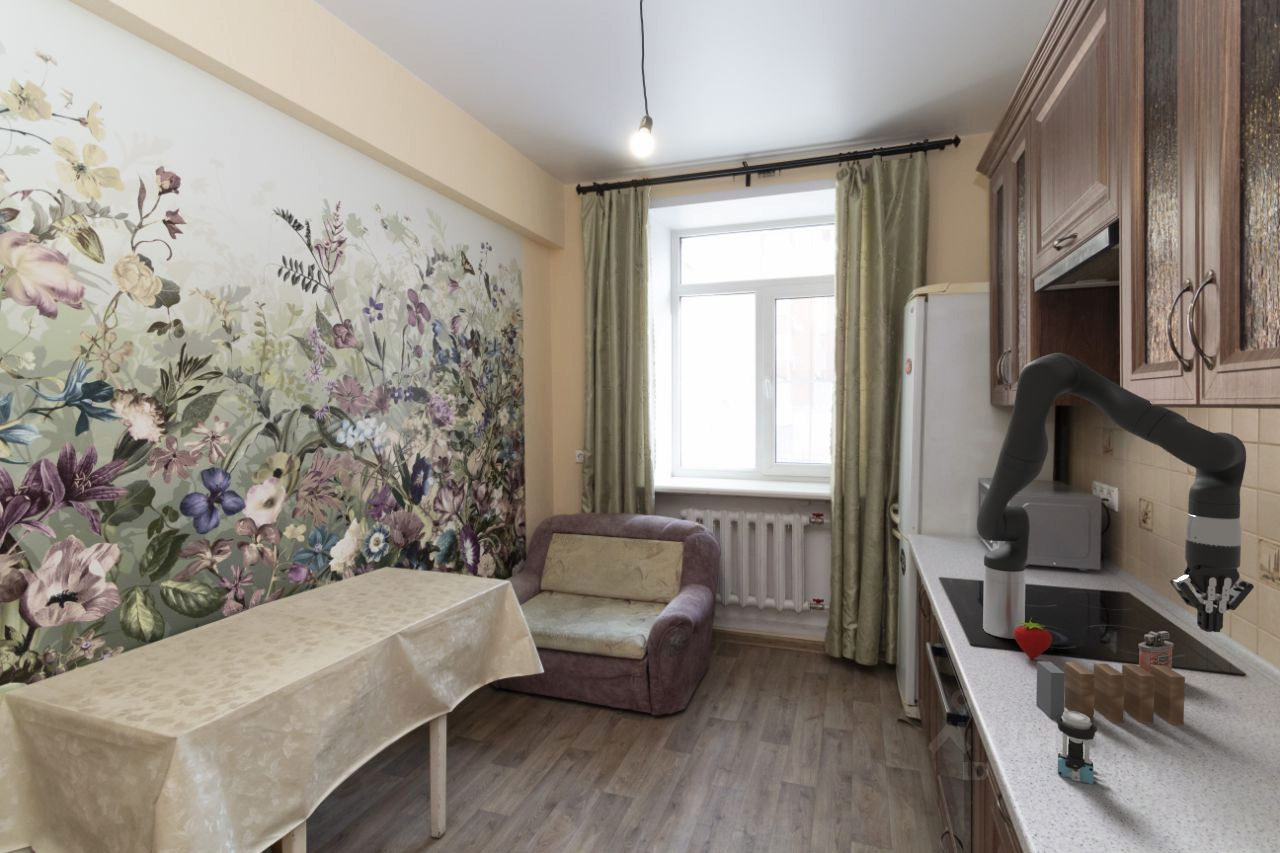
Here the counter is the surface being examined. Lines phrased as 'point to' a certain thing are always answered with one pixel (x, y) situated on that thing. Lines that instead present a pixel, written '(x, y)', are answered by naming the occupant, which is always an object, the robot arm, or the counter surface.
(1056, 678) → the charcoal tile
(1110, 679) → the walnut tile
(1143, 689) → the walnut tile
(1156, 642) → the lighter
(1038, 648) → the strawberry
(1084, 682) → the walnut tile
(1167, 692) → the walnut tile
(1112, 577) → the counter surface
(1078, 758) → the push button
